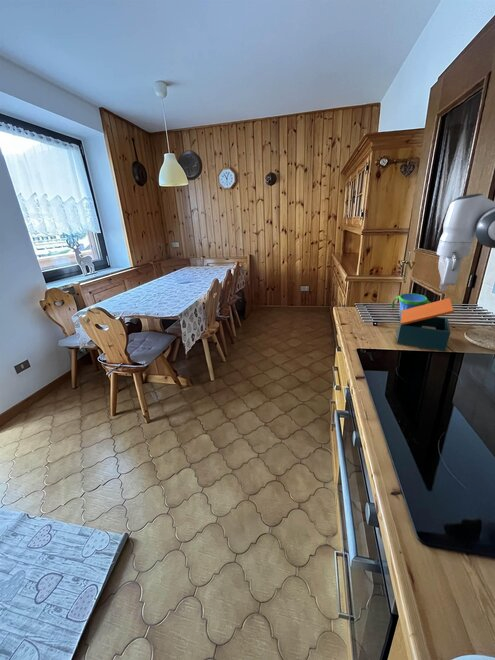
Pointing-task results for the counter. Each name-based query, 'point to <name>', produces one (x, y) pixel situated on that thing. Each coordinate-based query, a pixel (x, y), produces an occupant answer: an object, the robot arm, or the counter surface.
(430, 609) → the counter surface
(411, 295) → the snack cup
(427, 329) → the dark teal open box
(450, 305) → the lid
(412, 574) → the counter surface
